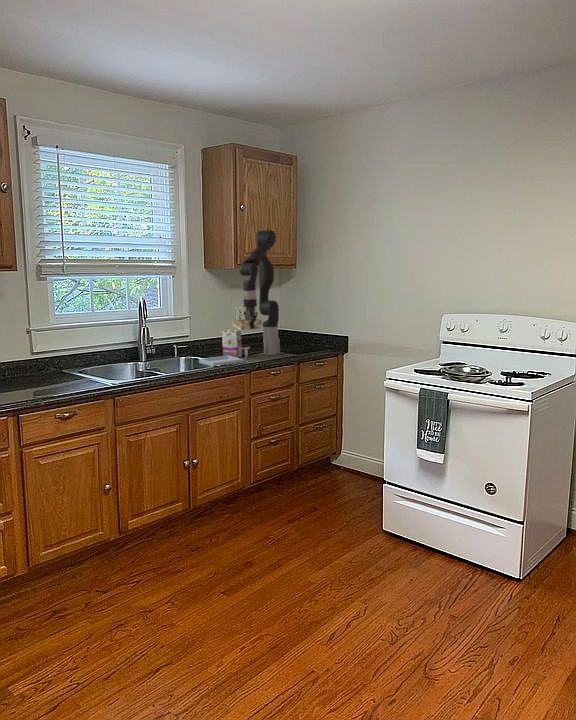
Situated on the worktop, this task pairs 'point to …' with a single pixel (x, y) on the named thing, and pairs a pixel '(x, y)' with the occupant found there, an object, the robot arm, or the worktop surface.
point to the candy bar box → (232, 343)
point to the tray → (220, 360)
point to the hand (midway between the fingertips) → (251, 328)
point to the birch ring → (245, 324)
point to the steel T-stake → (246, 352)
